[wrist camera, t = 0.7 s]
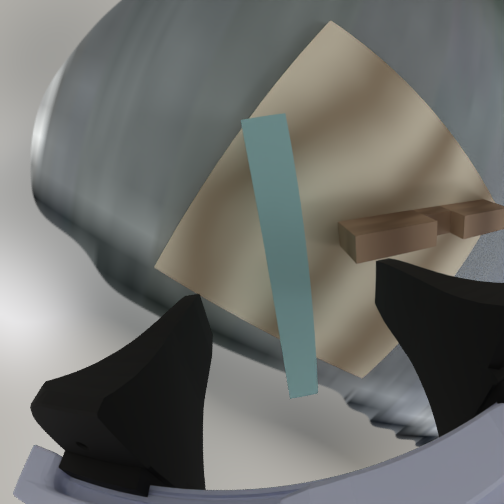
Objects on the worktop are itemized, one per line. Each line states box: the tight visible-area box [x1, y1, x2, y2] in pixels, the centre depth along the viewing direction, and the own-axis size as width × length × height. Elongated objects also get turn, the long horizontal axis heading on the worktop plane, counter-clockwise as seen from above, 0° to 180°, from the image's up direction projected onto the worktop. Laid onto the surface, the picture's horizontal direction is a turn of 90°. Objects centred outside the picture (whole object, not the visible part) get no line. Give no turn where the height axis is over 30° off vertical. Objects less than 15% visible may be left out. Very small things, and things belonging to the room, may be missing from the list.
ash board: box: [154, 21, 495, 378], centre depth 17 cm, size 20×20×1 cm
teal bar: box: [241, 113, 318, 399], centre depth 14 cm, size 14×2×6 cm, turn 11°
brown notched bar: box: [338, 199, 504, 264], centre depth 15 cm, size 14×2×3 cm, turn 100°
